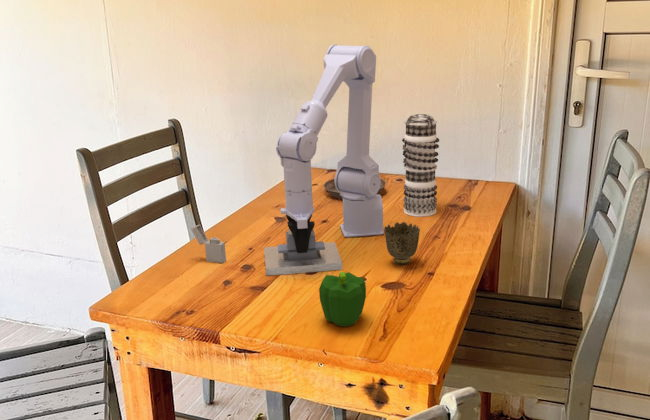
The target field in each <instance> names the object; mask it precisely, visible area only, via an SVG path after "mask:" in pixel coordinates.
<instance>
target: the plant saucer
mask: <svg viewBox="0 0 650 420" xmlns="http://www.w3.org/2000/svg"><path fill="white" fill-rule="evenodd" d="M334 179H335V178H332V179H330V180H327V181H325V182H324V183H323V188H324V189H325V191H326V192H327V193H328V194H329V195H330V196H331V197H333V198H334V199H339V200H343V196H340V192H339V191H338V190H337V189H336V187H335V183H334ZM380 180H381V183H380V188H379V191H378V192H377V194H379V195H380V193H382V192H383V190H384V188H385V186H386V185H387V184H386V183H387V182H386V181H385V180H384V179H382V178H380Z"/></svg>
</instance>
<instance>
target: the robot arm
mask: <svg viewBox="0 0 650 420" xmlns="http://www.w3.org/2000/svg"><path fill="white" fill-rule="evenodd" d="M376 66H377V55H376V54H375V52H374V50H373V49H372V47H370V46H369V45H338V44H332V45H330V46H329V47H328V48H327V50H326V53H325V56H323V67H324V69H323V72H322V75H321V76H320V79H319V81H318V84H317V86H316V89H315V91H314V92H313V96H312V98H311V100H308V101H305V102H303V104H302V106H301V107H300V109H299V111H298V113H297V115H296V117H295V118H294V120H293V122H292V124H291V126H290V128H289V129H288V131H285V132H283V133H282V134H280V136H279V137H278V140H277V144H276V147H275V150H276V154H277V156H278V157H279V159H280V165H281V167H282V168H283V181H284V196H285V197H284V198H285V199H284V201H285V207H281V208H280V214H281V215H285V218H286V219H287V226H288V227H287V228H288V230H290V231H291V232H292V235H293V237H294V241H295V246H296V250H297V253H307V251H308V246H309V239H310V235H311V232H312V230H314V228H315V225H316V223H315V221H311V219H312V217H313V214H314V212H315V208H314V204H313V202H314V200H313V182H312V178H313V177H312V159H313V158H314V156H315V155H316V153H317V148H318V147H317V145H318V144H317V142H318V141H319V137H318V135H319V133H320V131H321V130H322V128H323V126H324V124H325V122H326V120H327V118H328V111H327V106H328V105H329V103H330V102H331V100H332V98H333V97H334V96H335V94H336V93H337V91H338V90H339V88H340V86H341V85H342V83H343V82H344V83H345V85H346V86H348V107H347V108H348V112H347V133H346V136H347V137H346V138H347V139H346V153H345V154H346V155H345V156H344V157H343V158H341V159H340V160H339V161H338V162H337V166H336V167H337V168H336V172H335V175H334V178H333V179H334V183H335V187H336V189H337V190H338V191H339V192H340V196H343V199H342V216H343V217H342V219H343V221H342V223H341V224H339V228H340V230H341V232H342V235H343V237H344V238H352V237H353V238H354V237H367V236H378V235H379V236H381V235H385V231H384V205H383V204H384V203H383V199H382V198H383V197H382V195H381V194H380V193H379V194H377V192H378V191H379V188H380V183H381V180H380V179H381V177H380V176H381V175H380V172H379V171H380V169H379V168H380V167H379V166H380V165H379V164H378V162H376V161H375V160H374V159H373V158H372V157H371V156H370V142H371V141H370V139H371V120H372V119H371V118H372V103H373V83H375V81H376V69H377V67H376Z"/></svg>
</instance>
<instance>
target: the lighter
mask: <svg viewBox="0 0 650 420" xmlns="http://www.w3.org/2000/svg"><path fill="white" fill-rule="evenodd" d="M191 232H192V233H193V236H194V237H195V239H196V240H197V242H198V244H199V246H201V245H203V244H204V249H205V250H204V251H205V258H206V262H211V263H219V264H223V263H225V262H226V261H227V255H226V254H227V253H226V244H225V241H221V240H220V238H218V237H213V236H212V237H210V238H209V240H208V237H207V235H206V233H205V232H204V230H203V228H202V226H201V224H200V223H198V224H197V225H194V226H193V227H191Z"/></svg>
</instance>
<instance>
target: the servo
mask: <svg viewBox="0 0 650 420" xmlns="http://www.w3.org/2000/svg"><path fill="white" fill-rule="evenodd" d="M285 237H286V243H285V244H284V243H282V244H277V246H278V253H287V256H288V261H298V260H311V259H316V250H325V245H324V243H325V241H323V240H322V241H316V234H315V230H314V229H313V230H312V232H311V235H310V239H309V246H308V251H307V253H297V250H296V246H295V241H294V237H293V235H292V232H291V231H290V229H288V230H287V231H285Z"/></svg>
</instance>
